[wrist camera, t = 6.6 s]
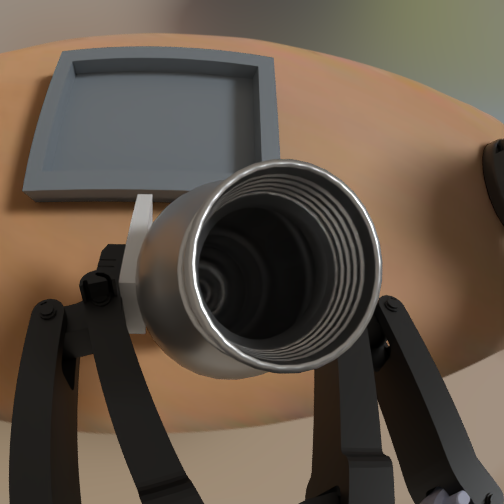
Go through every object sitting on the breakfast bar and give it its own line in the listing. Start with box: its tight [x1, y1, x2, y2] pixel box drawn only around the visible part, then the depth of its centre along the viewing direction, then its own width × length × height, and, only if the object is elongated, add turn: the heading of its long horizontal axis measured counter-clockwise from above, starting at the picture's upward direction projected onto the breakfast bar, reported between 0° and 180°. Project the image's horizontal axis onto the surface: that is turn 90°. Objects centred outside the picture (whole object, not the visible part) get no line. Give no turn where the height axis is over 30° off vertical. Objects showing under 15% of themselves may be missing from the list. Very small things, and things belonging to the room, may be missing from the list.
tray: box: [22, 46, 280, 202], centre depth 24 cm, size 20×14×3 cm
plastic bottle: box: [135, 159, 382, 380], centre depth 15 cm, size 6×7×20 cm
